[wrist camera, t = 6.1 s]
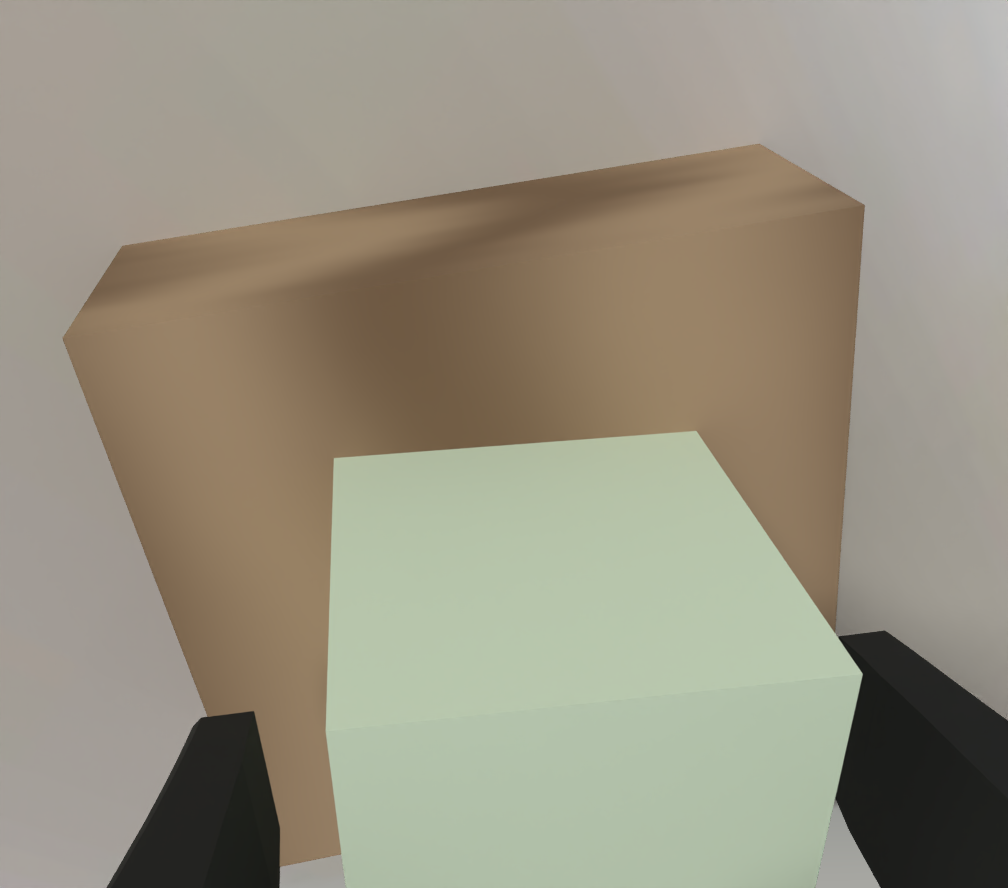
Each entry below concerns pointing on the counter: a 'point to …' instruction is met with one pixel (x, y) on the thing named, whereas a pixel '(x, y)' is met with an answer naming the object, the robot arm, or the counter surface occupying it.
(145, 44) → the counter surface
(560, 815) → the sage cube
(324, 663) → the walnut block
